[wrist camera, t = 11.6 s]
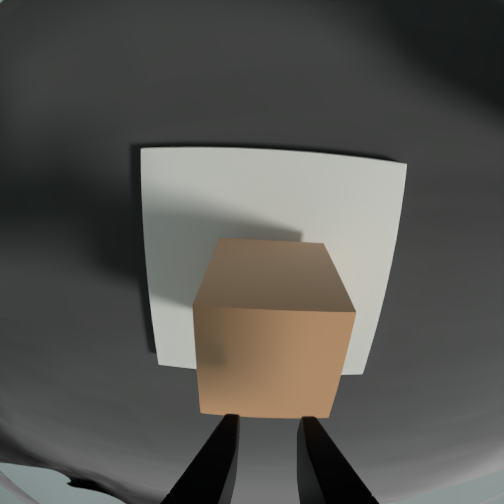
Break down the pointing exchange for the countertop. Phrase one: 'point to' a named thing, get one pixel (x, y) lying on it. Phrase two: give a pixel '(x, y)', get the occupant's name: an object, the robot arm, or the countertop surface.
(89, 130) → the countertop surface
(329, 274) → the tan wooden brick
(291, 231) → the post stand
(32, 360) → the countertop surface
